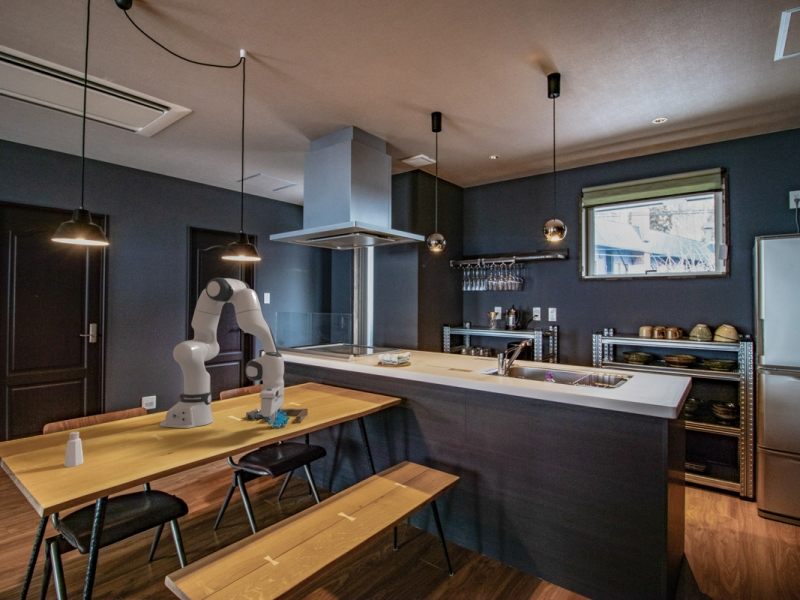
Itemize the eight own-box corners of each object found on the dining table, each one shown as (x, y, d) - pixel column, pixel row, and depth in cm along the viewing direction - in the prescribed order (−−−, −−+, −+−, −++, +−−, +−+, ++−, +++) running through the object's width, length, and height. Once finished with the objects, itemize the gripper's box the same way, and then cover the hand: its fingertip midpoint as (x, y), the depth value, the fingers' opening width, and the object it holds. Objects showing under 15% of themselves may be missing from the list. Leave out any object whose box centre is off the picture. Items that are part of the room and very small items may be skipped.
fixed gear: (242, 420, 201) (242, 412, 201) (250, 414, 211) (250, 406, 211) (264, 420, 201) (264, 412, 201) (270, 414, 211) (270, 406, 211)
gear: (268, 427, 185) (265, 407, 191) (264, 434, 188) (261, 415, 194) (292, 426, 191) (289, 407, 197) (288, 433, 194) (285, 414, 200)
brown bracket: (264, 422, 197) (264, 416, 197) (273, 414, 212) (273, 408, 212) (300, 423, 197) (300, 416, 197) (307, 414, 212) (307, 408, 212)
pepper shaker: (87, 461, 149) (87, 430, 149) (76, 467, 143) (76, 434, 144) (71, 461, 149) (72, 430, 149) (59, 467, 143) (60, 434, 143)
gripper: (273, 385, 194) (273, 415, 193) (258, 394, 173) (257, 428, 173) (287, 385, 194) (287, 415, 193) (273, 394, 173) (273, 428, 173)
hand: (273, 421), depth 183 cm, fingers closed
